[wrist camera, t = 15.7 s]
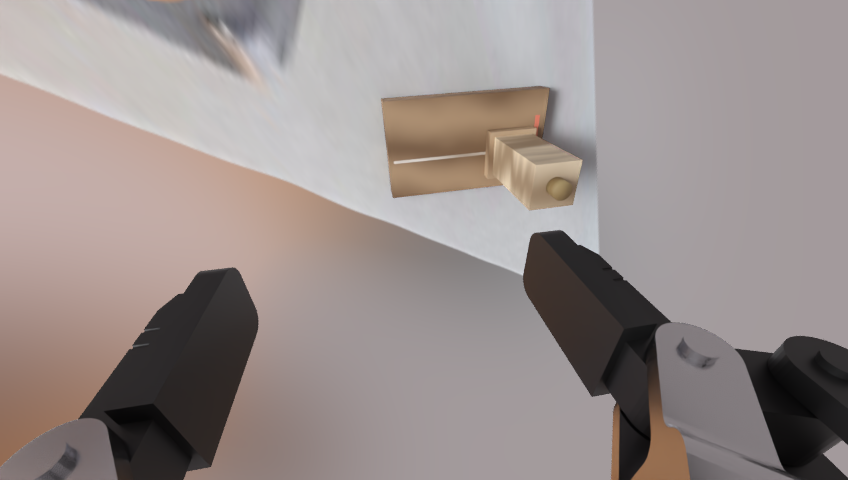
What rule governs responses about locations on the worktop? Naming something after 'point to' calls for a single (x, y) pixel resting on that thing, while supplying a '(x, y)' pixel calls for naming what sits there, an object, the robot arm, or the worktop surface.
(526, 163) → the pale wood tall block
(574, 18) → the worktop surface
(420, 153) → the plank
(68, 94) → the worktop surface
